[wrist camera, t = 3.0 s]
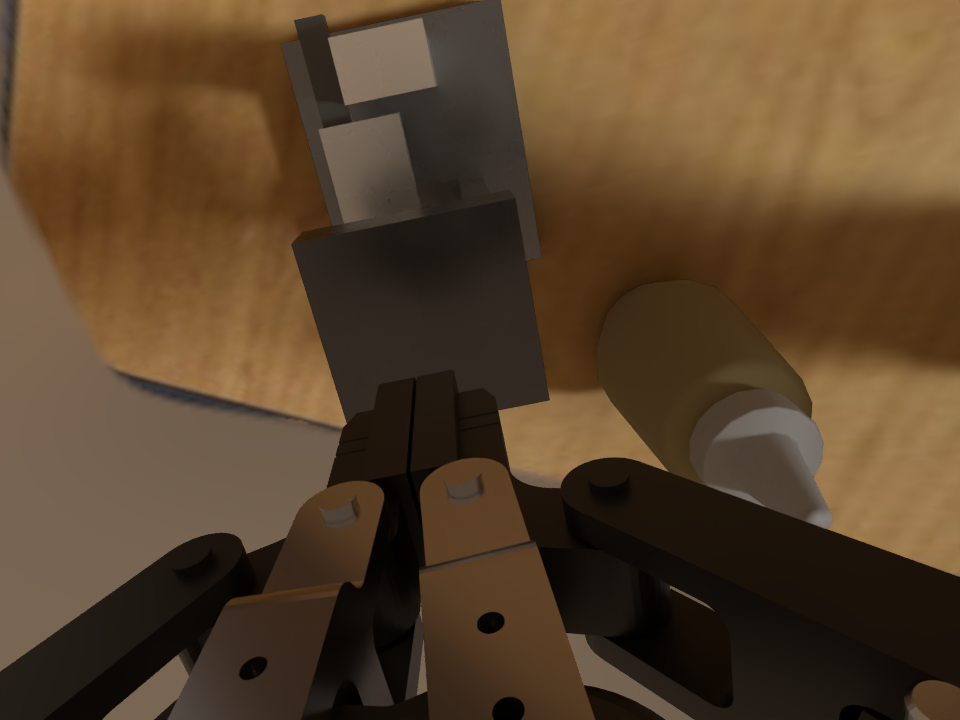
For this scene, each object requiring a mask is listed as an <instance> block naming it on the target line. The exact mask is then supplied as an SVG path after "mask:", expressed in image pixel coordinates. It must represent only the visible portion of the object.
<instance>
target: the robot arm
mask: <svg viewBox="0 0 960 720" xmlns="http://www.w3.org/2000/svg"><path fill="white" fill-rule="evenodd" d="M670 585H671V586H673V587H675V588H677V589H679V590H681V591H683V592H685V593H687V594H689V595H691V596H693V597H695V598H697V599H698V600H700V601H702V602H704V603H706V604H707V605H708V606H710V607H711V608H712V609H713V610H714V611H713V610H711V609H709V608H708V607H706V606H704V605H702V604H700V603H698V602H696V601H694V600H692V599H690V598H688V597H686V596H684V595H682V594H680V593H678V592H676V591H674V590H672V589H670ZM420 606H421V607H422V620H421V616H420V613H419V612H420ZM566 633H574V634H585V637H586V640H587V643H588V645H589V646H590V648H591V649H592V650H593V651H594V653H595V654H597V655H598V656H599V657H601V658H602V659H604V660H605V661H606V662H608V663H609V664H611V665H612V666H614V667H616V668H617V669H619V670H620V671H622V672H623V673H625V674H626V675H628V676H629V677H631V678H632V679H634V680H635V681H637V682H638V683H640V684H641V685H643V686H644V687H646V688H647V689H649V690H650V691H652V692H654V693H655V694H656V695H658V696H660V697H661V698H663V699H664V700H666V701H667V702H669V703H670V704H672V705H673V706H675V707H676V708H678V709H679V710H681V711H682V712H684V713H686V714H687V715H689V716H690V717H691V718H693V719H695V720H960V577H958V576H955V575H952V574H950V573H947V572H944V571H941V570H939V569H936V568H933V567H930V566H927V565H925V564H922V563H919V562H916V561H914V560H911V559H908V558H905V557H903V556H900V555H897V554H894V553H891V552H889V551H886V550H883V549H880V548H878V547H875V546H872V545H869V544H866V543H864V542H861V541H858V540H855V539H853V538H850V537H847V536H844V535H842V534H839V533H836V532H833V531H830V530H828V529H825V528H822V527H819V526H817V525H814V524H811V523H808V522H805V521H803V520H800V519H797V518H794V517H792V516H789V515H786V514H783V513H781V512H778V511H775V510H772V509H769V508H767V507H764V506H761V505H758V504H756V503H753V502H750V501H747V500H744V499H742V498H739V497H736V496H733V495H731V494H728V493H725V492H722V491H720V490H717V489H714V488H711V487H708V486H706V485H703V484H700V483H697V482H695V481H692V480H689V479H686V478H683V477H681V476H678V475H675V474H672V473H670V472H667V471H664V470H661V469H659V468H656V467H653V466H650V465H647V464H645V463H642V462H639V461H636V460H632V459H627V458H602V459H597V460H592V461H589V462H586V463H584V464H582V465H580V466H578V467H576V468H574V469H573V470H572V471H570V472H569V473H568V474H567V475H566V477H565V478H564V479H563V481H562V484H561V488H542V487H536V486H531V485H528V484H525V483H523V482H521V481H519V480H518V479H516V478H515V477H514V476H513V475H512V474H511V472H510V467H509V461H508V457H507V452H506V447H505V442H504V437H503V432H502V427H501V422H500V417H499V412H498V407H497V403H496V398H495V397H494V396H493V395H492V394H490V393H489V392H488V391H486V390H485V389H484V388H479V389H474V390H469V391H464V392H459V391H458V386H457V382H456V378H455V374H454V371H453V370H448V371H443V372H438V373H433V374H428V375H423V376H418V377H417V380H416V378H415V377H413V378H408V379H403V380H398V381H393V382H388V383H383V384H379V385H378V389H377V394H376V400H375V405H374V410H369V411H364V412H359V413H356V414H355V416H354V417H353V418H352V419H351V420H350V421H349V422H348V423H347V424H346V425H345V426H344V427H343V430H342V434H341V437H340V441H339V446H338V448H337V452H336V458H335V459H334V463H333V467H332V470H331V474H330V477H329V481H328V485H327V488H326V489H324V490H323V491H320V492H319V493H317V494H315V495H314V496H313V497H311V498H310V499H309V500H307V501H306V502H305V503H304V504H303V505H302V507H301V508H300V509H299V511H298V513H297V515H296V517H295V519H294V521H293V524H292V526H291V528H290V530H289V533H288V535H287V537H286V538H284V539H282V540H280V541H278V542H275V543H273V544H270V545H268V546H265V547H263V548H260V549H258V550H255V551H253V552H251V553H248V554H247V553H246V551H245V549H244V546H243V544H242V541H241V540H240V539H239V538H238V537H237V536H235V535H233V534H229V533H215V534H208V535H204V536H200V537H198V538H195V539H192V540H190V541H188V542H186V543H183V544H181V545H180V546H178V547H176V548H174V549H173V550H171V551H170V552H168V553H167V554H165V555H164V556H163V557H161V558H160V559H159V560H157V561H156V562H154V563H153V564H152V565H150V566H149V567H147V568H146V569H144V570H143V571H141V572H140V573H139V574H137V575H136V576H134V577H133V578H132V579H130V580H129V581H128V582H126V583H125V584H123V585H122V586H120V587H119V588H118V589H116V590H115V591H113V592H112V593H111V594H109V595H108V596H106V597H105V598H103V599H102V600H101V601H99V602H98V603H96V604H95V605H94V606H92V607H91V608H89V609H88V610H87V611H85V612H84V613H82V614H81V615H80V616H78V617H77V618H75V619H74V620H72V621H71V622H70V623H68V624H67V625H65V626H64V627H63V628H61V629H60V630H58V631H57V632H56V633H54V634H53V635H51V636H50V637H48V638H47V639H46V640H44V641H43V642H42V643H40V644H39V645H37V646H36V647H34V648H33V649H32V650H30V651H29V652H28V653H26V654H25V655H23V656H22V657H20V658H19V659H17V660H16V661H15V662H14V663H12V664H11V665H9V666H8V667H6V668H5V669H3V670H2V671H1V672H0V720H102V719H103V718H104V717H105V716H106V715H107V714H108V713H109V712H110V711H111V710H112V709H114V708H115V707H116V706H117V705H118V704H120V703H121V702H122V701H123V700H124V699H126V698H127V697H128V696H129V695H130V694H131V693H132V692H134V691H135V690H136V689H137V688H138V687H140V686H141V685H142V684H143V683H144V682H146V681H147V680H148V679H149V678H150V677H152V676H153V675H154V674H155V673H156V672H158V671H159V670H160V669H161V668H162V667H163V666H165V665H166V664H167V663H168V662H169V661H171V660H172V659H173V658H174V657H175V656H177V655H179V657H180V659H181V661H182V663H183V665H184V667H185V669H186V671H187V673H188V675H189V678H188V680H187V682H186V684H185V686H184V688H183V690H182V692H181V694H180V696H179V698H178V699H177V700H176V701H174V702H173V703H172V704H171V705H170V706H169V707H168V708H167V709H166V710H164V711H163V712H162V713H161V714H160V715H159V716H158V717H157V718H156V719H154V720H665V719H664V718H662V717H661V716H659V715H658V714H656V713H655V712H653V711H652V710H650V709H648V708H646V707H645V706H643V705H641V704H639V703H637V702H636V701H634V700H631V699H629V698H626V697H624V696H622V695H619V694H617V693H614V692H610V691H607V690H604V689H600V688H596V687H591V686H586V685H583V682H582V679H581V676H580V673H579V670H578V667H577V664H576V661H575V658H574V655H573V652H572V649H571V646H570V643H569V640H568V637H567V634H566ZM423 639H424V651H425V665H426V679H427V692H424V693H422V694H420V695H417V690H418V681H419V673H420V665H421V655H422V647H423Z"/></svg>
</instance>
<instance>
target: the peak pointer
mask: <svg viewBox="0 0 960 720" xmlns="http://www.w3.org/2000/svg"><path fill="white" fill-rule="evenodd" d="M294 22H295V25H296V29H297V33H298V37H299V40H300V44H301V48H302V51H303V55H304V59H305V62H306V66H307V70H308V73H309V77H310V81H311V84H312V88H313V92H314V95H315V99H316V103H317V106H318V110H319V114H320V118H321V121H322V125H323V128H325V127H330V126H335V125H340V124H344V123H349V122H352V120H351V117H350V113H349V109H348V105H345V103H344V99H343V96H342V92H341V88H340V84H339V80H338V76H337V72H336V68H335V64H334V60H333V57H332V53H331V49H330V45H329V41H328V38H330V34H329V30H328V26H327V22H326V18H325V16H324V15H322V14H321V15H317V16H312V17H307V18H303V19H298V20H294Z"/></svg>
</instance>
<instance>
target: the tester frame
mask: <svg viewBox="0 0 960 720" xmlns="http://www.w3.org/2000/svg"><path fill="white" fill-rule="evenodd" d="M329 34H330V38H328V41H329V45H330V49H331V53H332V57H333V60H334V64H335V68H336V72H337V76H338V80H339V84H340V88H341V92H342V96H343V99H344V103H345V105H348V109H349V113H350V117H351V120H352V122H354V121H359V120H364V119H368V118H373V117H378V116H383V115H387V114H392V113H397V112H400V116H401V120H402V125H403V129H404V133H405V138H406V142H407V147H408V151H409V156H410V160H411V164H412V169H413V173H414V178H415V182H416V186H417V191H418V195H419V200H420V204H421V208H422V207H427V206H432V205H437V204H442V203H447V202H451V201H456V200H461V199H466V198H471V197H476V196H481V195H485V194H490V193H495V192H500V191H505V190H511V192H512V193H513V195H514V196H515V198H516V204H517V210H518V216H519V221H520V227H521V233H522V239H523V245H524V251H525V257H526V261H528V260H533V259H537V258H542V256H541V250H540V244H539V238H538V231H537V225H536V219H535V212H534V206H533V200H532V194H531V187H530V181H529V175H528V168H527V162H526V156H525V150H524V143H523V137H522V131H521V125H520V118H519V112H518V106H517V99H516V93H515V87H514V81H513V74H512V68H511V62H510V55H509V49H508V43H507V37H506V30H505V24H504V18H503V11H502V5H501V0H484V1H479V2H474V3H470V4H465V5H460V6H455V7H451V8H446V9H441V10H437V11H432V12H427V13H423V14H418V15H413V16H409V17H404V18H399V19H394V20H390V21H385V22H380V23H376V24H371V25H366V26H362V27H357V28H352V29H347V30H343V31H338V32H333V33H329ZM281 48H282V51H283V55H284V58H285V62H286V65H287V69H288V72H289V76H290V80H291V83H292V87H293V90H294V94H295V97H296V101H297V104H298V108H299V111H300V115H301V119H302V122H303V126H304V129H305V133H306V136H307V140H308V143H309V147H310V150H311V154H312V157H313V161H314V165H315V168H316V172H317V175H318V179H319V182H320V186H321V189H322V193H323V196H324V200H325V203H326V207H327V211H328V214H329V218H330V221H331V225H332V226H335V225H340V224H344V221H343V218H342V214H341V210H340V207H339V203H338V199H337V196H336V192H335V188H334V185H333V181H332V177H331V174H330V170H329V167H328V163H327V159H326V156H325V152H324V148H323V145H322V141H321V137H320V134H319V129H321V128H323V125H322V121H321V118H320V114H319V110H318V106H317V103H316V99H315V95H314V92H313V88H312V84H311V81H310V77H309V73H308V70H307V66H306V62H305V59H304V55H303V51H302V48H301V44H300V40H296V41H291V42H286V43H282V44H281Z"/></svg>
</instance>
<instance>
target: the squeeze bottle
mask: <svg viewBox="0 0 960 720" xmlns="http://www.w3.org/2000/svg"><path fill="white" fill-rule="evenodd" d="M596 358H597V372H598V379H599V381H600V383H601V385H602V387H603V388H604V390H605V392H606V394H607V396H608V397H609V399H610V401H611V402H612V403H613V405H614V406H615V407H616V408H617V409H618V411H619V412H620V413H621V414H622V416H623V417H624V418H625V419H626V420H627V422H628V423H629V424H630V425H631V426H632V428H633V429H634V430H635V431H636V433H637V434H638V435H639V436H640V437H641V439H642V440H643V441H644V442H645V443H646V445H647V446H648V447H649V448H650V450H651V451H652V452H653V453H654V454H655V456H656V457H657V458H658V459H659V460H660V462H661V463H662V464H663V465H664V467H665V468H666V469H667V470H668V471H669V472H670V473H672V474H675V475H678V476H681V477H683V478H686V479H689V480H692V481H695V482H697V483H700V484H703V485H706V486H708V487H711V488H714V489H717V490H720V491H722V492H725V493H728V494H731V495H733V496H736V497H739V498H742V499H744V500H747V501H750V502H753V503H756V504H758V505H761V506H764V507H767V508H769V509H772V510H775V511H778V512H781V513H783V514H786V515H789V516H792V517H794V518H797V519H800V520H803V521H805V522H808V523H811V524H814V525H817V526H819V527H822V528H825V529H827V528H829V526H830V524H831V522H832V514H831V512H830V510H829V508H828V506H827V504H826V502H825V500H824V498H823V496H822V494H821V492H820V490H819V488H818V486H817V484H816V482H815V480H814V476H815V474H816V472H817V470H818V468H819V467H820V465H821V463H822V454H823V439H822V437H821V434H820V432H819V430H818V427H817V425H816V423H815V422H814V421H813V420H812V419H811V414H812V402H811V399H810V397H809V394H808V392H807V390H806V387H805V385H804V382H803V380H802V378H801V377H800V376H799V375H798V374H797V373H796V372H795V371H794V369H793V368H792V367H791V366H790V365H789V364H788V363H787V362H786V360H785V359H784V358H783V357H782V356H781V355H780V354H779V352H778V351H777V350H776V349H775V348H774V347H773V346H772V345H771V343H770V342H769V341H768V340H767V339H766V338H765V337H764V336H763V334H762V333H761V332H760V331H759V330H758V329H757V328H756V326H755V325H754V324H753V323H752V322H751V321H750V320H749V319H748V317H747V316H746V315H745V314H744V313H743V312H742V311H741V309H740V308H739V307H738V306H737V305H736V304H735V303H734V302H732V301H731V300H730V299H729V298H728V297H726V296H725V295H724V294H723V293H722V292H720V291H719V290H718V289H717V288H715V287H713V286H710V285H706V284H702V283H698V282H694V281H690V280H686V279H685V280H675V281H664V282H656V283H649V284H642V285H639V286H637V287H636V288H634V289H632V290H630V291H628V292H627V293H625V294H623V295H622V296H621V297H620V298H619V299H618V300H617V302H616V303H615V304H614V305H613V306H612V307H611V308H610V310H609V311H608V314H607V317H606V319H605V322H604V325H603V328H602V331H601V335H600V338H599V342H598V346H597V349H596Z"/></svg>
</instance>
